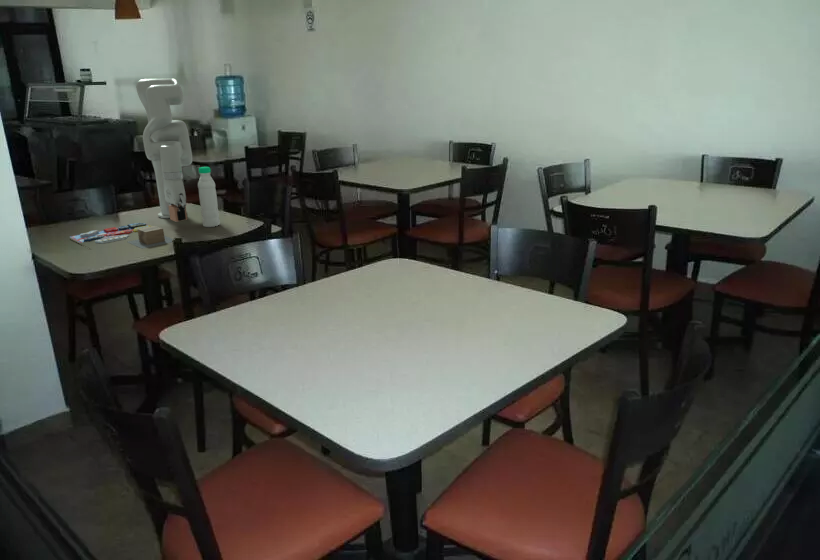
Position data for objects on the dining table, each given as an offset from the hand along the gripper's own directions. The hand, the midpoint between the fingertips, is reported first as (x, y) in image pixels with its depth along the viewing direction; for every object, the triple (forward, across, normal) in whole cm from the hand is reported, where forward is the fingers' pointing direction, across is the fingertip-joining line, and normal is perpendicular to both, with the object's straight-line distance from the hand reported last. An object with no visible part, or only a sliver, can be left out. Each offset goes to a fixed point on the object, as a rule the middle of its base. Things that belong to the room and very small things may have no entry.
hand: (178, 218), depth 256 cm
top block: (+1, 0, 0) cm, 1 cm away
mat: (+4, +12, -18) cm, 22 cm away
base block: (+3, +12, -18) cm, 22 cm away
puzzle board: (+6, -10, -22) cm, 24 cm away
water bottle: (+5, +3, +12) cm, 14 cm away
